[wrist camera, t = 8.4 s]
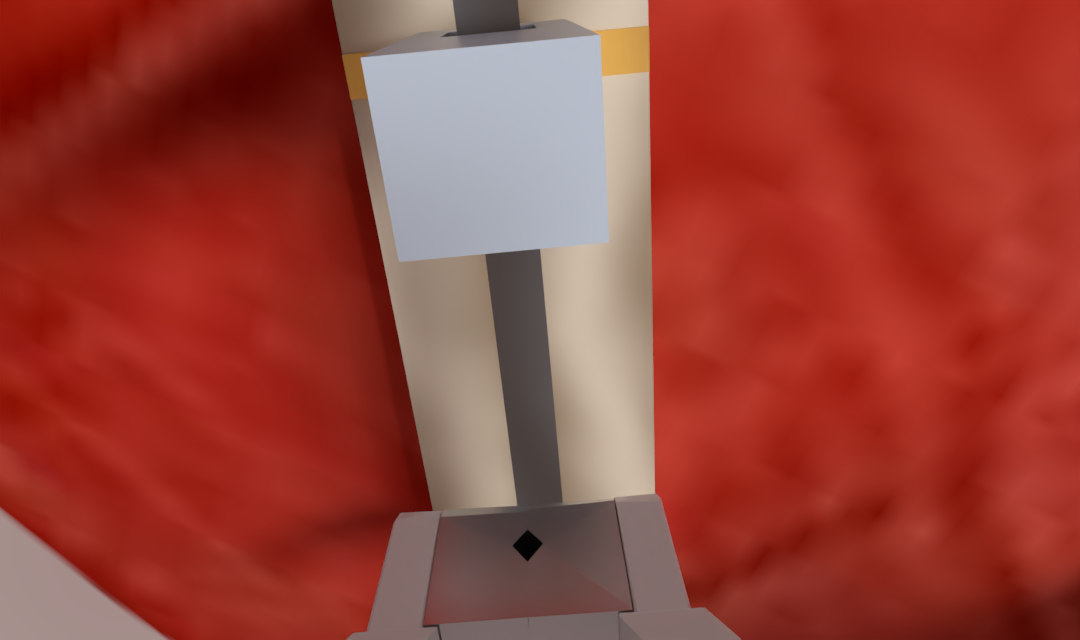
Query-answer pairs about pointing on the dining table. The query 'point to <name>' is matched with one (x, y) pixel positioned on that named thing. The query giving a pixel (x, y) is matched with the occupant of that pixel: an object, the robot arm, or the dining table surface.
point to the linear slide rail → (527, 294)
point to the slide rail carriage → (491, 139)
